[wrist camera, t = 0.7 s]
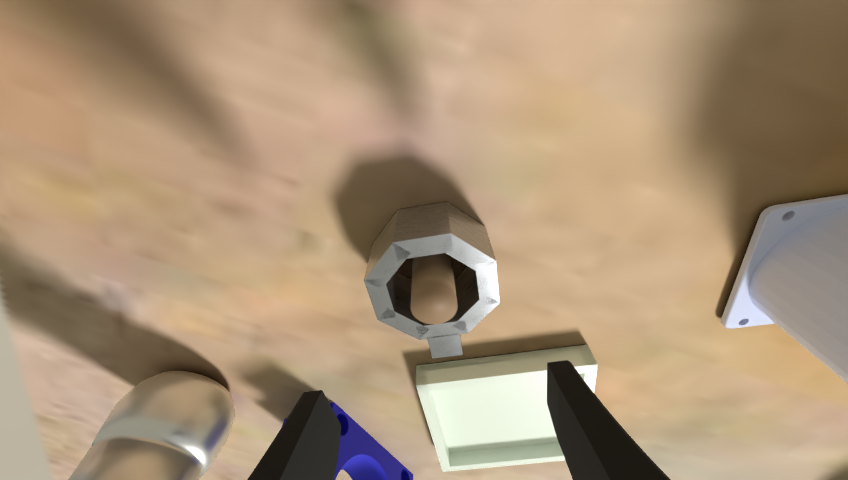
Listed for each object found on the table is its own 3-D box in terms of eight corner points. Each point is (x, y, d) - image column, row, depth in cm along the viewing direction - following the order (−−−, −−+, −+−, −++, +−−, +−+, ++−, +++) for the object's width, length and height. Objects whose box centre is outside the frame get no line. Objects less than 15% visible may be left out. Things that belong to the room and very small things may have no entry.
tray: (587, 344, 22) (597, 364, 20) (578, 438, 27) (585, 458, 26) (416, 365, 23) (415, 385, 21) (441, 451, 28) (442, 471, 27)
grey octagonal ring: (482, 195, 16) (493, 226, 14) (493, 308, 20) (504, 349, 17) (363, 215, 17) (352, 248, 14) (396, 322, 20) (392, 363, 18)
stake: (448, 235, 17) (454, 285, 14) (453, 267, 18) (460, 321, 15) (409, 241, 18) (406, 292, 14) (416, 272, 19) (415, 327, 15)
